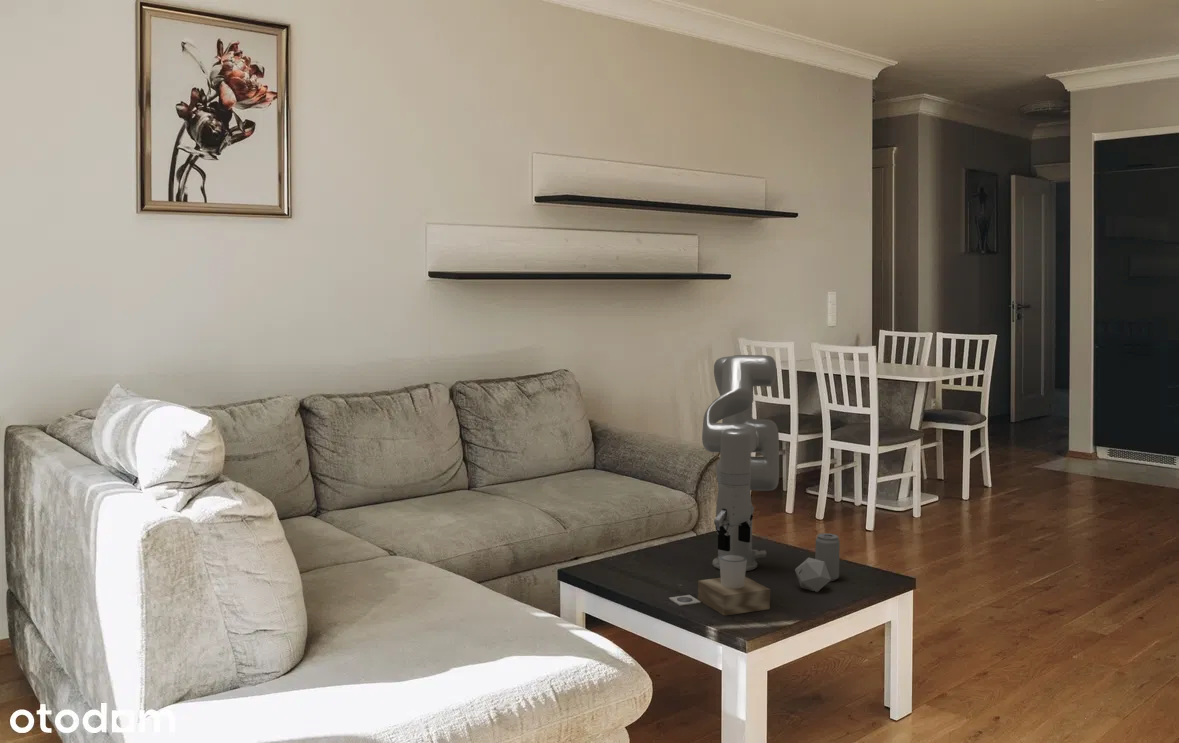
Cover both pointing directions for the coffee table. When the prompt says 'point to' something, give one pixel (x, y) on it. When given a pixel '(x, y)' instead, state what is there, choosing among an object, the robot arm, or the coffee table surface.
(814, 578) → the die
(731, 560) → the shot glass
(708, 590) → the oak block
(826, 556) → the beverage can
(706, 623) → the coffee table surface
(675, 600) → the tile
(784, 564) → the coffee table surface
